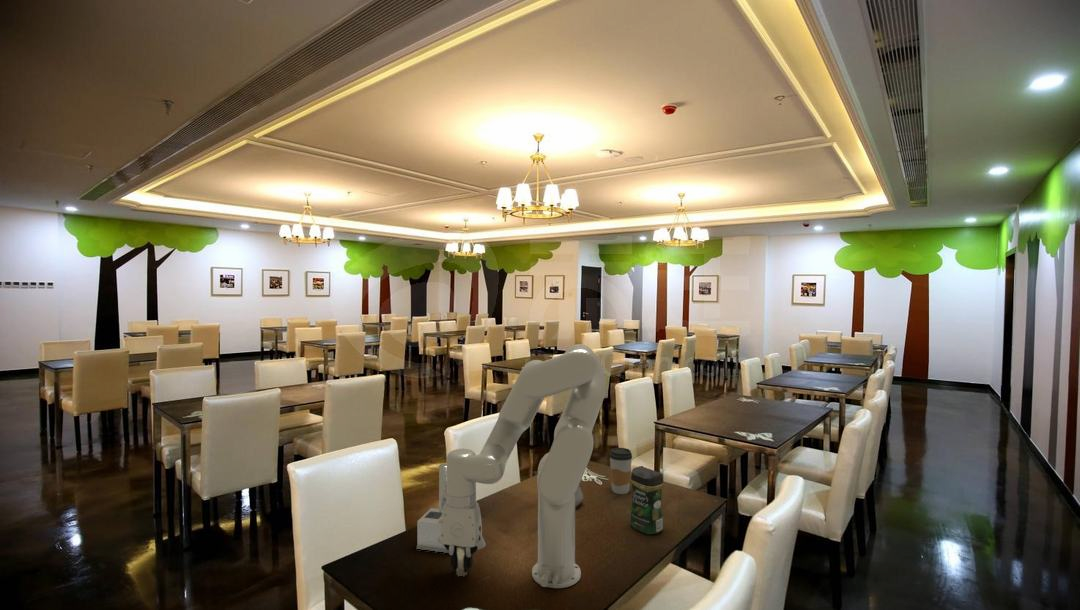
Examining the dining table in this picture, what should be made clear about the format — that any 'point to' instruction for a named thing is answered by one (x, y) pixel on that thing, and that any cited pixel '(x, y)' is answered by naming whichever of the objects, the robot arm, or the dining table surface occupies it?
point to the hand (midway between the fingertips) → (461, 568)
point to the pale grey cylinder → (460, 560)
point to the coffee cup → (620, 470)
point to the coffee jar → (646, 500)
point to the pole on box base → (433, 520)
